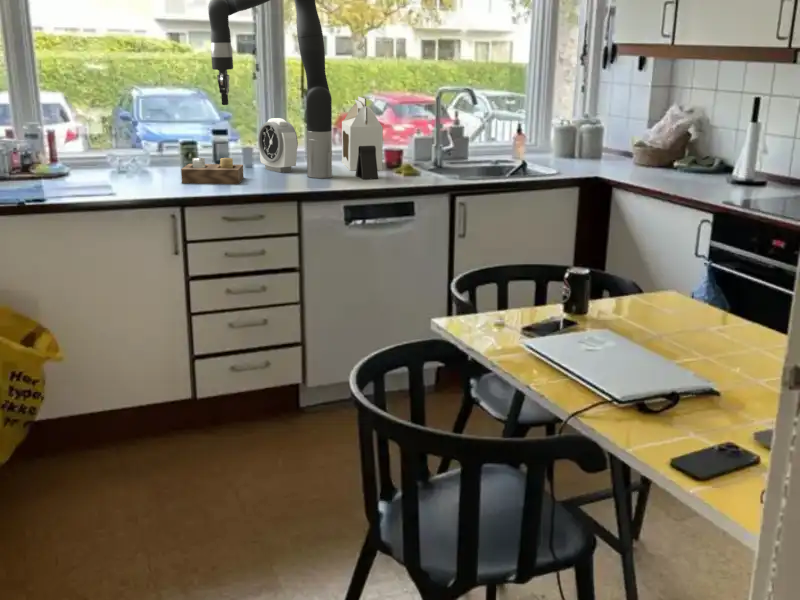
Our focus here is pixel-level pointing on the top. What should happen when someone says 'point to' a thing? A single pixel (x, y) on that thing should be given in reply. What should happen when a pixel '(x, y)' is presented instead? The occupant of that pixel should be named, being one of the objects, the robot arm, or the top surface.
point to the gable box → (360, 134)
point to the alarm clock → (278, 145)
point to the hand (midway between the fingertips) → (225, 104)
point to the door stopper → (367, 163)
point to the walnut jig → (214, 173)
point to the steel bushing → (198, 162)
